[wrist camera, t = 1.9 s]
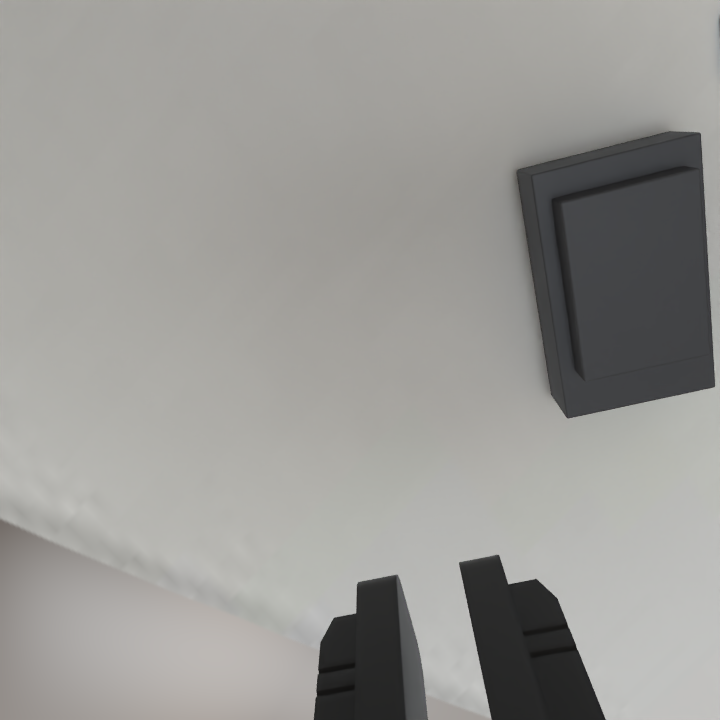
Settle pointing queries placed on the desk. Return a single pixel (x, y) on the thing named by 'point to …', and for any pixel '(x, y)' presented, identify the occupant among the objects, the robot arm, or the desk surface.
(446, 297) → the desk surface
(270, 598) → the desk surface
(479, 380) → the desk surface
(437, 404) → the desk surface
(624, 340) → the dark raised-panel slab
